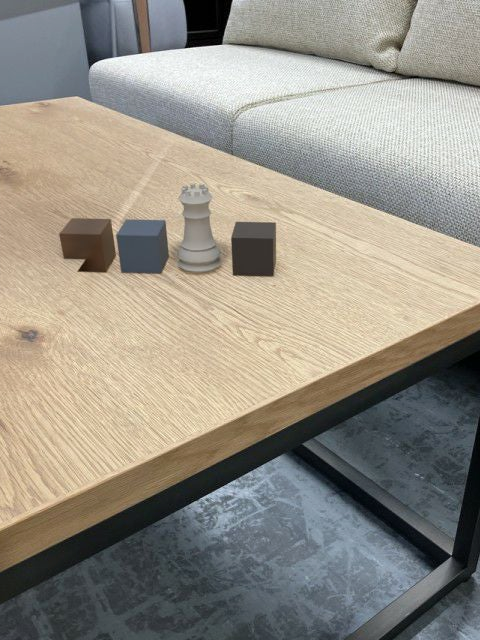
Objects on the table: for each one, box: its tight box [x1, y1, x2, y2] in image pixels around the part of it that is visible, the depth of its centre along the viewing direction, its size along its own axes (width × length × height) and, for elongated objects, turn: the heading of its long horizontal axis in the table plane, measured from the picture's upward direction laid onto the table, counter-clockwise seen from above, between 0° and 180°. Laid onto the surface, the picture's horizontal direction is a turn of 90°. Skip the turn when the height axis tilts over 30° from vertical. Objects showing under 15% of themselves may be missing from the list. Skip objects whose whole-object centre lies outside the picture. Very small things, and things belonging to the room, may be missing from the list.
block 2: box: [115, 218, 170, 275], centre depth 69 cm, size 4×4×4 cm
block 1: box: [58, 217, 117, 273], centre depth 69 cm, size 4×4×4 cm
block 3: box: [230, 221, 277, 277], centre depth 69 cm, size 4×4×4 cm
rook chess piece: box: [177, 182, 223, 275], centre depth 68 cm, size 4×4×8 cm
